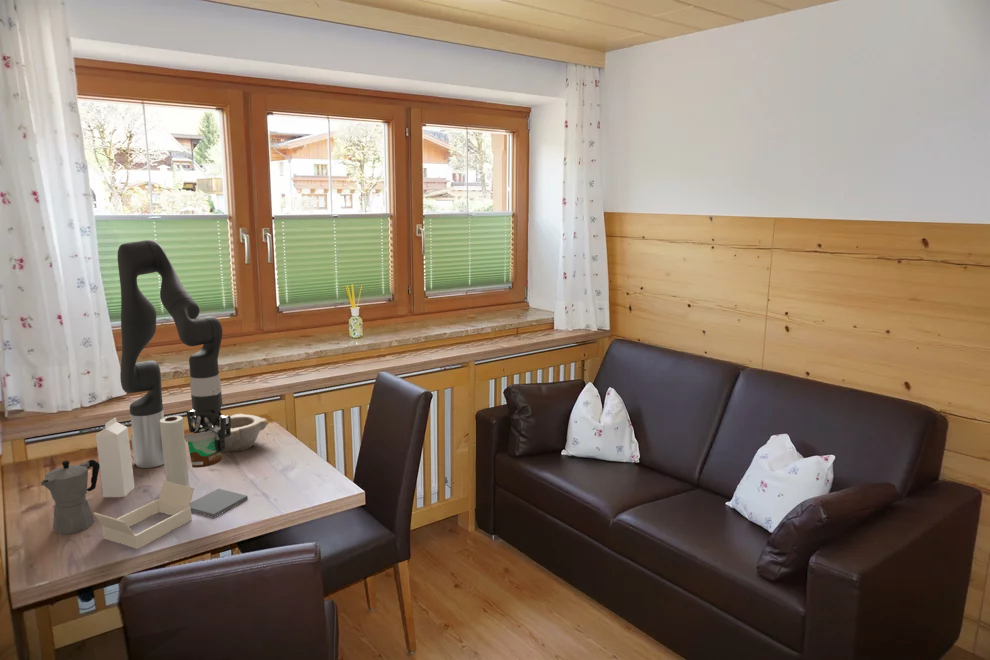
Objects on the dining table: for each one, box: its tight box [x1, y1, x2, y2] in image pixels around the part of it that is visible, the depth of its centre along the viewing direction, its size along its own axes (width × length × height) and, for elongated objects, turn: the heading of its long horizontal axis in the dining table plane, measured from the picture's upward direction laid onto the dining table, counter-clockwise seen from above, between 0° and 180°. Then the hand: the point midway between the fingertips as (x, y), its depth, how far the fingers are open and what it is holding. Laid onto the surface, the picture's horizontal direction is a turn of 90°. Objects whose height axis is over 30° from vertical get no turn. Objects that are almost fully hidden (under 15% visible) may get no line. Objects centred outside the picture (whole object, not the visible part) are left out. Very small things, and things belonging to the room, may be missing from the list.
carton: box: [93, 480, 195, 550], centre depth 171 cm, size 12×20×8 cm, turn 156°
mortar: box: [224, 413, 269, 453], centre depth 226 cm, size 17×17×9 cm
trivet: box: [189, 488, 249, 518], centre depth 186 cm, size 11×12×1 cm
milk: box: [95, 417, 135, 498], centre depth 190 cm, size 6×6×22 cm
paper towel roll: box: [160, 415, 190, 487], centre depth 193 cm, size 7×6×21 cm
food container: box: [185, 425, 223, 469], centre depth 182 cm, size 12×6×10 cm, turn 168°
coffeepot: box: [40, 459, 100, 535], centre depth 173 cm, size 15×9×18 cm, turn 159°
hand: (211, 449), depth 182 cm, fingers closed on food container, 6 cm apart
